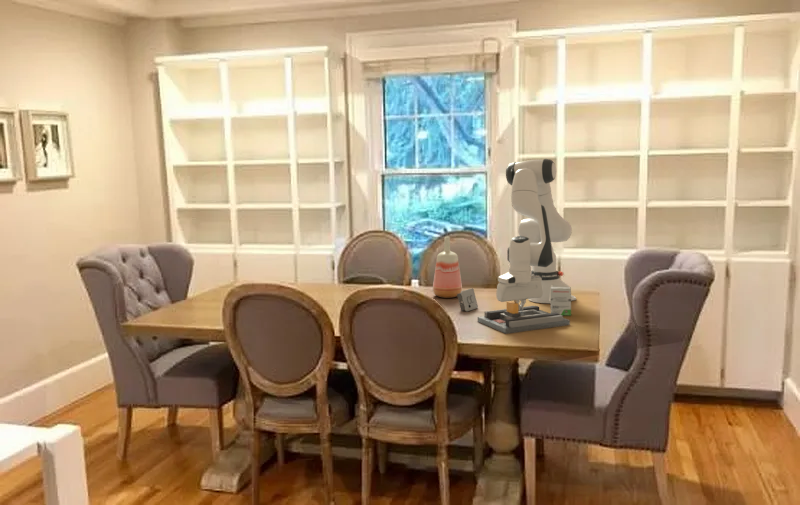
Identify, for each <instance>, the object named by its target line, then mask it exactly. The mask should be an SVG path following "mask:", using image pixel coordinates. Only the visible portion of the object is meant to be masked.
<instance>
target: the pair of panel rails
mask: <svg viewBox="0 0 800 505" xmlns="http://www.w3.org/2000/svg"><path fill="white" fill-rule="evenodd" d="M533 309H534V310H537V311H539V310H540V306H538V305H529V306H527V305H526V306H523V310H520V311H525V310H533ZM504 311H507V308H503V309H495V310H486V311H484V315H483V316H485V317H487V318H490V319H491V318H499V317H500V314H501V313H504ZM548 313H549V314H541V315H534V316H526V317H518V318H510V319H506V325H507V326H509V327H511V328H513V327H520V326H528V325H535V324H543V323H550V322H557V321H563V318H564V315H560V314H559V313H551V312H548Z"/></svg>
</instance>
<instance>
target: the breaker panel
mask: <svg viewBox="0 0 800 505" xmlns="http://www.w3.org/2000/svg"><path fill="white" fill-rule="evenodd" d="M518 312H519V313H521V316H519V317H526V316H534V315H541V314H549V313H550V312H547V311H544V310H541V309H539V311H537V310H534V309H533V310H525V311H518ZM510 318H518V317H510V316H508V315H505V314H504V313H501V314H500V317H499V318H491V319H490V318H487V317H485V316H484V315H483V316H482V315H481V316H477V322H478V323H479V324H482V325H485V326H487V327H488V328H489V327H490V328H492V329H494V330H496V331H498V332H500V333H503V334H515V333H522V332H528V331H536V330H542V329H549V328H556V327H565V326H571V320H570V319H568V318H564V317H563V321H557V322H550V323H543V324H535V325H528V326H520V327H513V328H511V327H509V326H507V325H506V319H510Z"/></svg>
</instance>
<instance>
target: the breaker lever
mask: <svg viewBox="0 0 800 505" xmlns="http://www.w3.org/2000/svg"><path fill="white" fill-rule="evenodd" d="M506 309H507V311H504V314H505V315H508V316H510V317H519V316H521V313H519V312H518V303H516V302H514V301H506Z"/></svg>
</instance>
